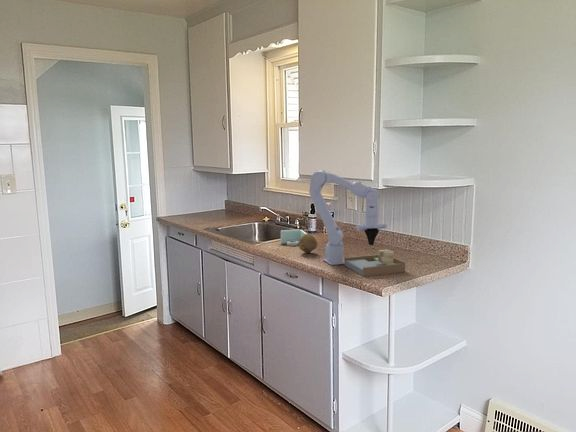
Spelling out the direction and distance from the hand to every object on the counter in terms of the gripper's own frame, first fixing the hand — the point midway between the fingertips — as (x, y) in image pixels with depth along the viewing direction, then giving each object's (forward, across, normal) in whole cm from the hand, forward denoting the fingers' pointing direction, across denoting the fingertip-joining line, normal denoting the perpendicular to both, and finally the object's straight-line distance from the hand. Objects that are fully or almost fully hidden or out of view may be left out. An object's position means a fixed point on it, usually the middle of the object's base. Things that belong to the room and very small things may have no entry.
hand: (371, 244), depth 216 cm
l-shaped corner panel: (+10, -21, +50) cm, 56 cm away
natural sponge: (+10, -20, +30) cm, 37 cm away
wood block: (+7, +4, -6) cm, 10 cm away
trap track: (+9, -2, -6) cm, 11 cm away
